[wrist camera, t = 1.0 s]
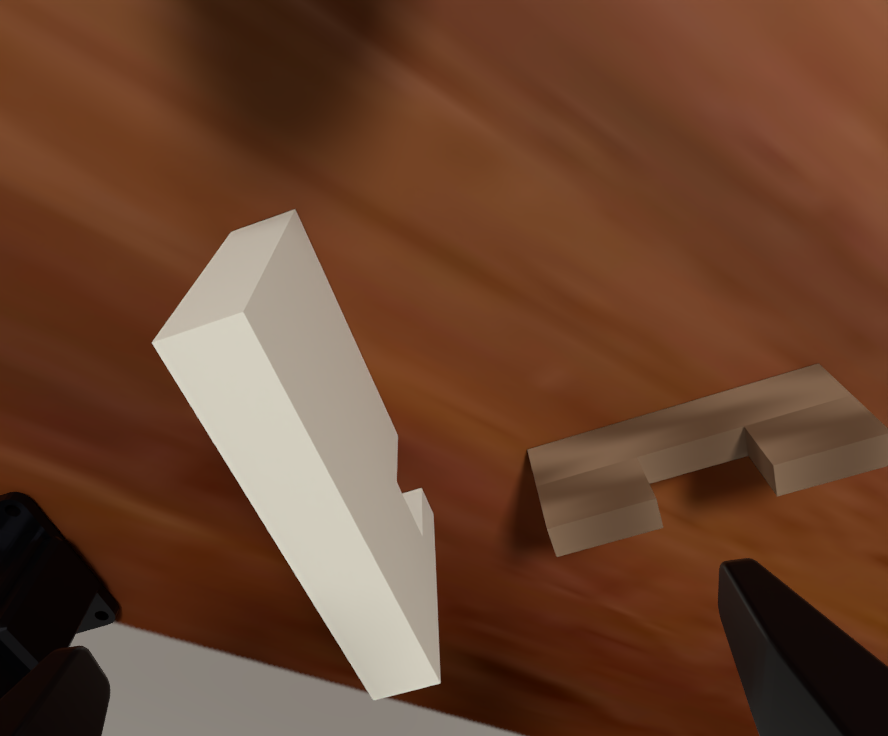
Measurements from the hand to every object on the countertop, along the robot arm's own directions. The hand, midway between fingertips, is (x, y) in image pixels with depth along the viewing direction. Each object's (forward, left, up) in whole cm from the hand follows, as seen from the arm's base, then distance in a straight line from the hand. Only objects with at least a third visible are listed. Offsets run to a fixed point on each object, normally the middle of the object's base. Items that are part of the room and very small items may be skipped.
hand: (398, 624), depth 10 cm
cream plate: (-3, -3, -13) cm, 14 cm away
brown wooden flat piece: (+7, -8, -13) cm, 17 cm away
